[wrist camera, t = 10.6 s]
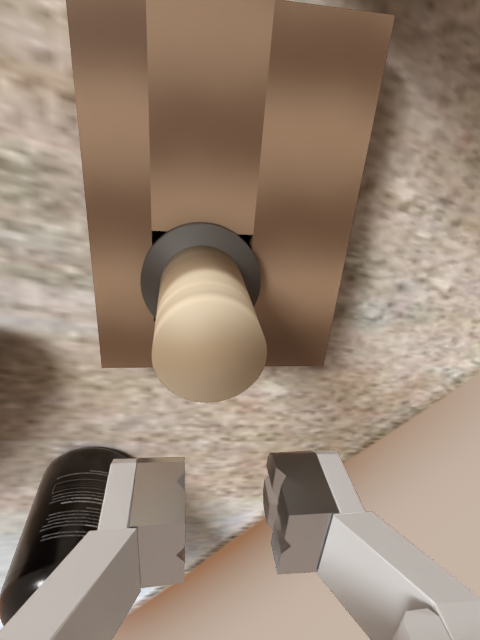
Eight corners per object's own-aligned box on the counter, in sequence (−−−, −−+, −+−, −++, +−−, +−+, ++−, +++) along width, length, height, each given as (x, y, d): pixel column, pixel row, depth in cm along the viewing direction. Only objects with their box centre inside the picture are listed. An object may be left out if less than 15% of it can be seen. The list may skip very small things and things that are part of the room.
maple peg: (145, 204, 20) (117, 275, 11) (253, 209, 21) (305, 279, 12) (148, 303, 23) (127, 424, 14) (244, 305, 24) (282, 419, 15)
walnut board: (85, -3, 16) (63, -30, 13) (358, 31, 18) (395, 15, 15) (112, 334, 24) (101, 368, 21) (306, 335, 25) (323, 365, 22)
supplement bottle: (27, 491, 29) (-63, 712, 18) (73, 428, 27) (2, 637, 16) (113, 520, 31) (79, 729, 21) (161, 465, 29) (150, 666, 19)
